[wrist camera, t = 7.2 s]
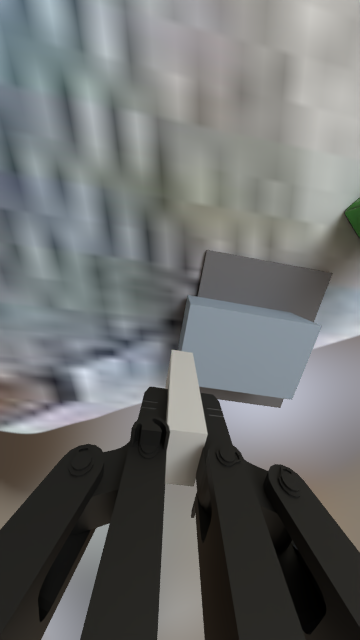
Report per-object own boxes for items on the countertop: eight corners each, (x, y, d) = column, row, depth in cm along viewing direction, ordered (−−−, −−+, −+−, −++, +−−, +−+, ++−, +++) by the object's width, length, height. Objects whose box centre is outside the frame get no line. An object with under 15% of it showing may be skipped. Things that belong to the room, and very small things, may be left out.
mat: (178, 391, 25) (178, 393, 25) (206, 250, 20) (207, 249, 20) (278, 405, 26) (280, 407, 25) (328, 272, 21) (332, 273, 20)
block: (175, 383, 18) (292, 399, 19) (190, 303, 16) (321, 325, 17) (176, 358, 23) (269, 372, 24) (187, 294, 21) (289, 312, 22)
